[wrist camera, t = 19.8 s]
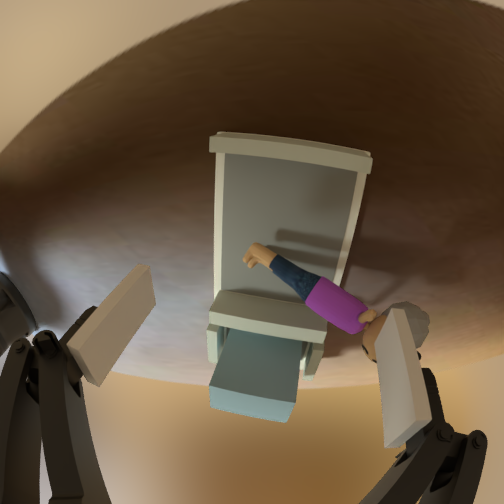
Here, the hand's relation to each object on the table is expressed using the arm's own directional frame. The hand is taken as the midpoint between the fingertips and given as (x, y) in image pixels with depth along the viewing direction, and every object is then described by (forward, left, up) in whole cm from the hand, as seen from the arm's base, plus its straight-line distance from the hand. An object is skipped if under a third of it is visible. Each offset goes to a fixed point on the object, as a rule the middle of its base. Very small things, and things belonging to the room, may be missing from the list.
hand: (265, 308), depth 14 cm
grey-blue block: (0, -12, -9) cm, 15 cm away
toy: (-2, 0, -8) cm, 8 cm away
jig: (0, -4, -9) cm, 10 cm away
